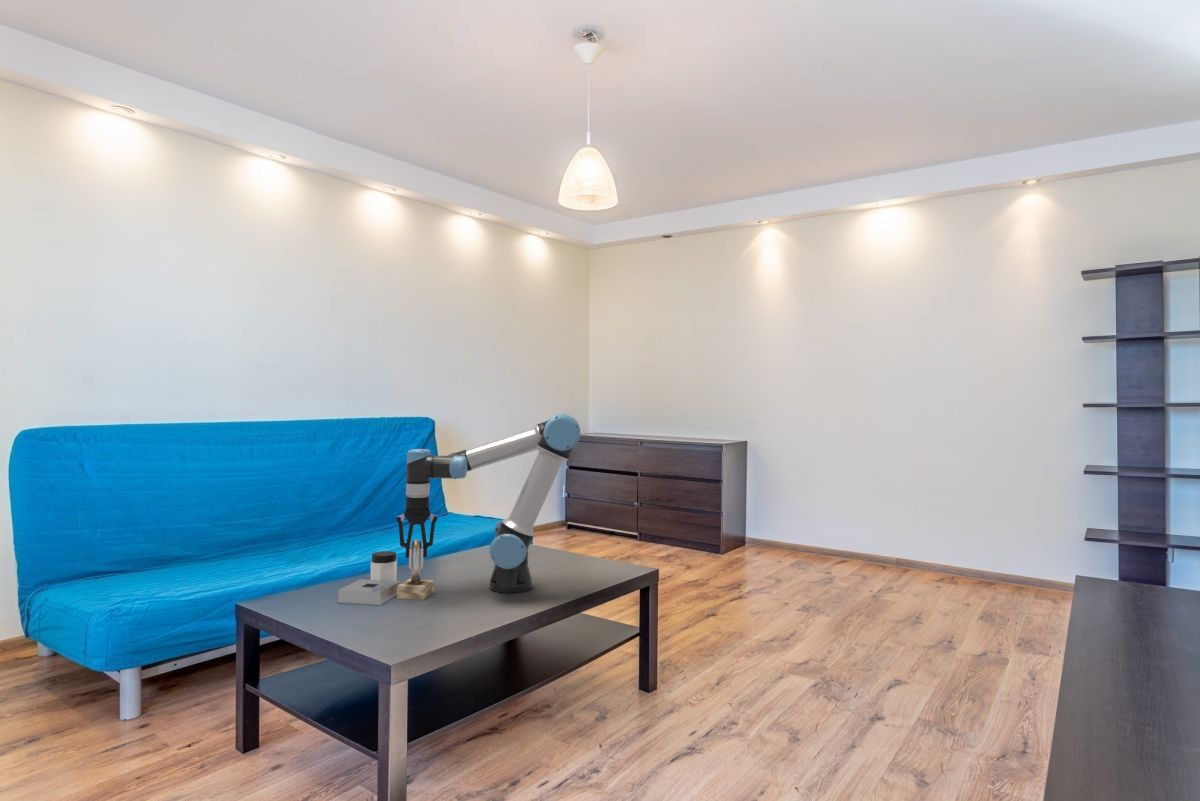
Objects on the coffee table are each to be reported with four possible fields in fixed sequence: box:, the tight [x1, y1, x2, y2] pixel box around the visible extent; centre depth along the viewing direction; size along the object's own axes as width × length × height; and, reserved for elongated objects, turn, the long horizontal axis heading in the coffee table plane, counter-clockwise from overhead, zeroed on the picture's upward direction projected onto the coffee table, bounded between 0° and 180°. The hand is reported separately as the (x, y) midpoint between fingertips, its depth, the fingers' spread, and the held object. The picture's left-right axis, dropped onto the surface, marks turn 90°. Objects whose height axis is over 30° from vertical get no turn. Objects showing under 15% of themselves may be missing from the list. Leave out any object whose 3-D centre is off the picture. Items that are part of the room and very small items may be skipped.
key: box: [410, 539, 422, 585], centre depth 222 cm, size 7×3×14 cm, turn 12°
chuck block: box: [337, 578, 401, 606], centre depth 217 cm, size 14×14×5 cm
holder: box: [396, 578, 435, 601], centre depth 221 cm, size 9×9×5 cm
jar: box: [370, 550, 398, 581], centre depth 233 cm, size 9×8×12 cm
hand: (416, 567), depth 221 cm, fingers closed on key, 3 cm apart
